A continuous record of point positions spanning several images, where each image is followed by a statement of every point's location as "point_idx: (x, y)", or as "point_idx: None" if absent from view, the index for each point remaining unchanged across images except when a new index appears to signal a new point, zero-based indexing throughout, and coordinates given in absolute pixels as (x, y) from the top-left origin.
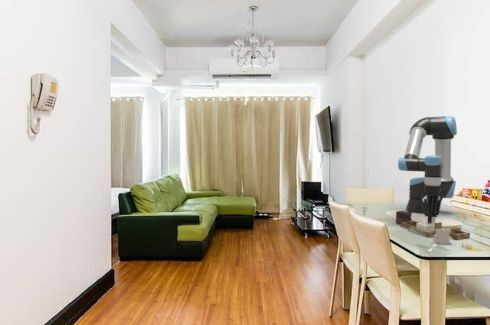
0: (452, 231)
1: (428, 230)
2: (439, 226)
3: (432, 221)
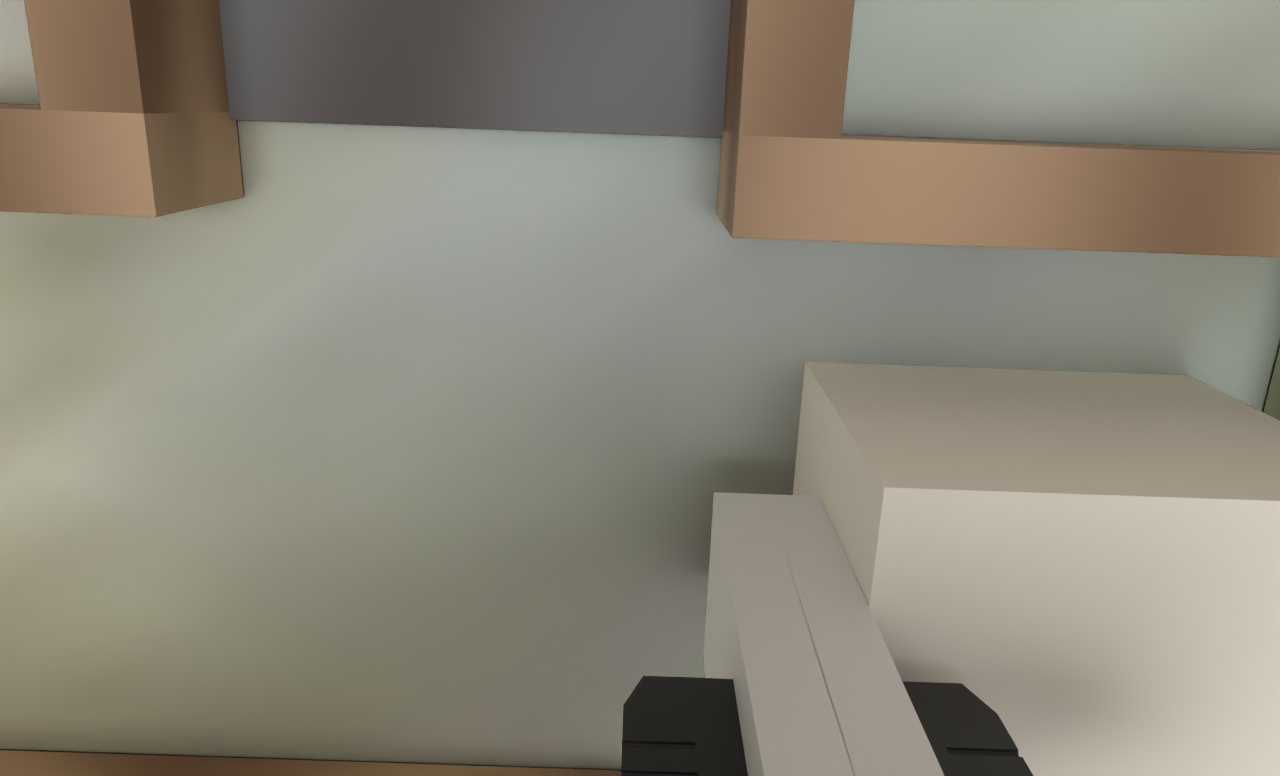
0: (199, 119)
1: (1162, 419)
2: (28, 772)
3: (903, 686)
